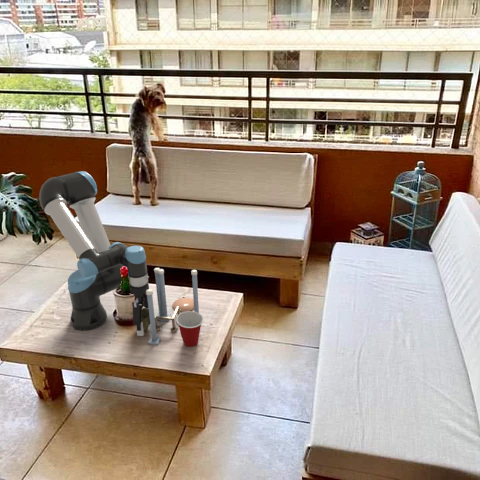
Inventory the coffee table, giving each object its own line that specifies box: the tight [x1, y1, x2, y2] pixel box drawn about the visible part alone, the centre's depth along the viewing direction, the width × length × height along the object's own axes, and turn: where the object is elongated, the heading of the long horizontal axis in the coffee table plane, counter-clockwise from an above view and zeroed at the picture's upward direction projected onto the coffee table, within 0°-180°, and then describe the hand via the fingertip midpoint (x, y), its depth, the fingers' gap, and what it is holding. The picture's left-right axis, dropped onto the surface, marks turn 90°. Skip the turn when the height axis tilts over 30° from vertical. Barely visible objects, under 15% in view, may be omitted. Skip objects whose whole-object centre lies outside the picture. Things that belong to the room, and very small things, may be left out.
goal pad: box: [172, 297, 194, 313], centre depth 205 cm, size 11×11×1 cm
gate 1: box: [146, 268, 172, 346], centre depth 184 cm, size 4×20×24 cm, turn 173°
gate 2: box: [153, 267, 200, 316], centre depth 191 cm, size 4×20×24 cm, turn 83°
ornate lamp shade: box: [142, 307, 151, 331], centre depth 188 cm, size 8×7×8 cm
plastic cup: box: [175, 310, 204, 347], centre depth 178 cm, size 11×11×12 cm
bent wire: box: [155, 306, 181, 333], centre depth 191 cm, size 10×12×6 cm
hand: (144, 327), depth 190 cm, fingers open, 9 cm apart
